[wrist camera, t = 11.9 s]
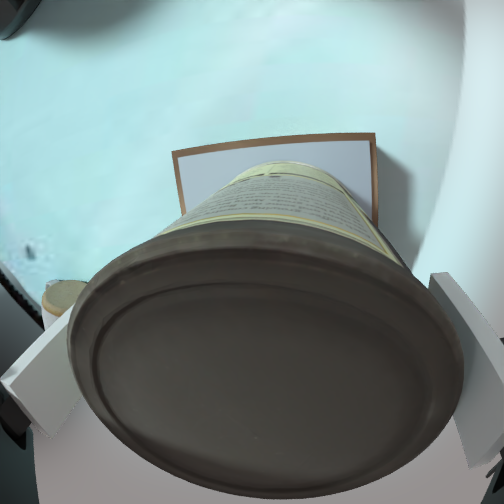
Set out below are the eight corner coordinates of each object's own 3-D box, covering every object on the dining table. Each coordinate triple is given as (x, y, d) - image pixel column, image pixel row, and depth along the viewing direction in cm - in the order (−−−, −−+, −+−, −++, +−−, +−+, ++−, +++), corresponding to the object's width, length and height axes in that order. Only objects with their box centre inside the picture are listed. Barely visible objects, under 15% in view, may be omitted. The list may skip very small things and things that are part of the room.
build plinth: (196, 147, 23) (169, 151, 18) (359, 133, 20) (376, 132, 15) (219, 289, 27) (202, 322, 23) (361, 284, 25) (372, 318, 20)
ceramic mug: (111, 286, 30) (69, 324, 23) (116, 340, 33) (84, 380, 26) (48, 262, 31) (7, 290, 24) (57, 313, 34) (24, 343, 27)
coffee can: (395, 226, 17) (517, 390, 4) (298, 329, 21) (282, 513, 9) (265, 124, 16) (155, 93, 3) (181, 251, 20) (53, 401, 8)
